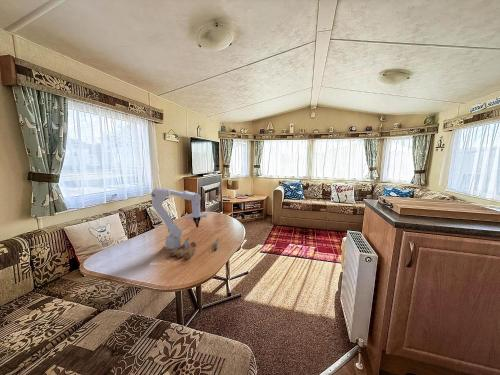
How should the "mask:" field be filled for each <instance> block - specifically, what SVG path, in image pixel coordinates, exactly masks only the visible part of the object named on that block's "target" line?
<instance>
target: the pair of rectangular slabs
mask: <svg viewBox="0 0 500 375" xmlns="http://www.w3.org/2000/svg"><path fill="white" fill-rule="evenodd" d="M219 241H220V240H219V237H216V239H215V243H214V251H217V250H218V246H219ZM189 245H190V237H187V238H186V239H185V241H184V242H183V244H182V249H183V250H184V252H186V251H187V250H186V249H188V246H189Z"/></svg>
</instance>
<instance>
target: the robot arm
mask: <svg viewBox="0 0 500 375" xmlns="http://www.w3.org/2000/svg"><path fill="white" fill-rule="evenodd" d="M150 196H151V206H152V208H153V209H154V210H155V212H156V213H157V215H158V216H159V217H160V219H161V220H162V221H163V223H164V224H165V226H166V228H167V232H168V234H169V235H167V236H166V238H165V249H167V250H169V249H170V250H172V249H173V248H178V249H181V247H182V242H181V241H182V239H181V238H182V237H181V236H182V234H183V231H182V229H181V228H180V227H178V225H177V224H176V223H175V222H174V221H173V219H172V218H171V217H170V215H169V214H168V212H167V211H166V209H165V207H164V206H163V205H162V204H163V202H164V201H165V200H166V198H167V197H170V196H175V197H180V198H181V199H183V200H187V201H191V210H192V211H191V212H192V214H189V215H186V216H185V218H186V219H187V220H188V219H192V221H193V222H194V224H195V227H196V228H199V225H200V224H199V223H200V221H201V218H208V217H207V216H208V215H207V213H201V200H202V196H201V194H199V193H197V192H194V191H192V192H191V191H189V190H187V189H186V190H183V191H179V190H178V191H177V190H174V189H169V188H165V187H164V188H163V187H161V188H160V187H155V188H154V189H153V190H152V192H151V193H150Z"/></svg>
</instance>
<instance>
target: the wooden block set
mask: <svg viewBox="0 0 500 375" xmlns="http://www.w3.org/2000/svg"><path fill="white" fill-rule="evenodd" d="M189 245H190V246H189V247H188V248H187V250H185V251H184V250H183V248H173V249H170V251H169V252H168V254H169V256H170V257H171V258H173V257H175V256H176V257H177V258H178V259H180V258H182V257H184V258H185V259H187V260H189V259H191V257H192V255H193V254H194V253H195V251H196V247H197V244H196V241H194V240H192V241H191V242H189Z"/></svg>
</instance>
